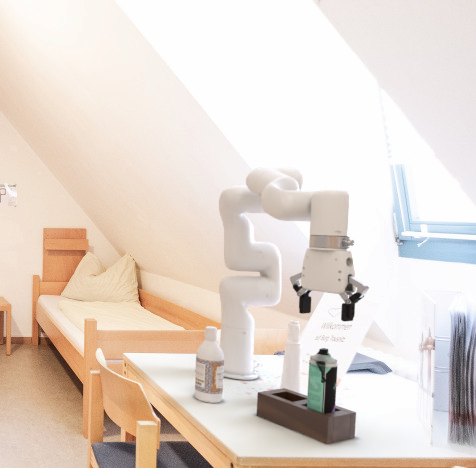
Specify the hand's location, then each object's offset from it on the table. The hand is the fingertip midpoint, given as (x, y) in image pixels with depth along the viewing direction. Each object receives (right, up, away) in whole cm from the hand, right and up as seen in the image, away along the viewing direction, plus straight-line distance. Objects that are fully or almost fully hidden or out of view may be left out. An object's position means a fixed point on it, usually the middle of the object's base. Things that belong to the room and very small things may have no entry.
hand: (325, 316), depth 124 cm
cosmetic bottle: (+7, -27, +24) cm, 36 cm away
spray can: (0, -28, +2) cm, 28 cm away
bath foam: (-17, -26, +23) cm, 39 cm away
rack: (-2, -27, +5) cm, 28 cm away
